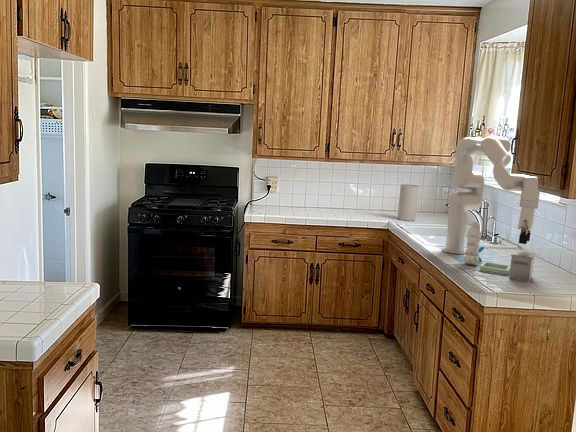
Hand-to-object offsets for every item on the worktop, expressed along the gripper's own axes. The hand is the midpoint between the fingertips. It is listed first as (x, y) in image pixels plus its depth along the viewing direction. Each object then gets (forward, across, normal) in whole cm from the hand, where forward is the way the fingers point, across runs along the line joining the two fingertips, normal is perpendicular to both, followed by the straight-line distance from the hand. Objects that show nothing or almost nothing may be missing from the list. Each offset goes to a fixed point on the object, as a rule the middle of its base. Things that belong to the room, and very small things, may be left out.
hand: (524, 242), depth 250 cm
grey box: (+14, +10, +2) cm, 18 cm away
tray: (+14, +4, -10) cm, 18 cm away
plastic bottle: (+14, -1, -22) cm, 26 cm away
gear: (+15, -12, -23) cm, 30 cm away
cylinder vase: (+14, -120, -93) cm, 153 cm away
